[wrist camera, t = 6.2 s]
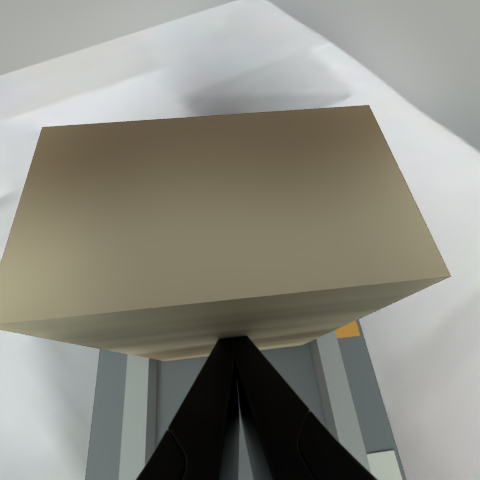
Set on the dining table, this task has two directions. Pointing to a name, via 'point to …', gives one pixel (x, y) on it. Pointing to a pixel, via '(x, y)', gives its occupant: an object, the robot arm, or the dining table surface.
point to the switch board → (183, 376)
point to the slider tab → (212, 232)
